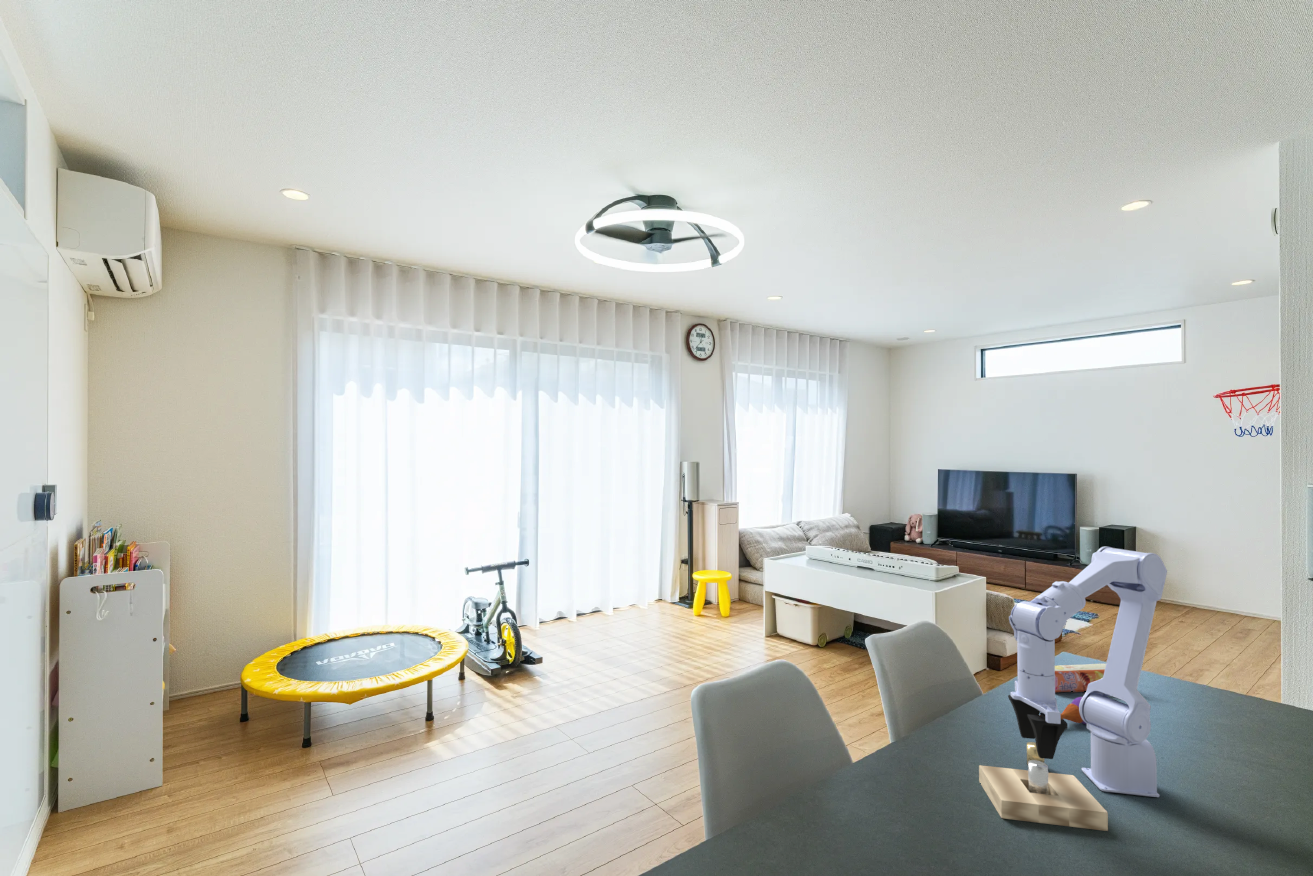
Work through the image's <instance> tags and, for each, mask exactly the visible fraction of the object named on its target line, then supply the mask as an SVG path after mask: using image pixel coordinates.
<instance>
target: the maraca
mask: <svg viewBox="0 0 1313 876" xmlns="http://www.w3.org/2000/svg"><path fill="white" fill-rule="evenodd" d="M1082 697H1083V696H1078V697H1075V698H1074V699H1072V701H1071V702H1070V703H1069V704H1067V705H1066V707H1065V708H1064V710H1063V711H1062V712H1061V719H1063V720H1067V721H1070V722H1073V723H1075V724H1082V725H1087V723H1086V722H1084V721H1083V720H1082V718H1081V716H1080V712H1079V704H1080V701H1081V699H1082ZM1039 716H1040V714H1039Z"/></svg>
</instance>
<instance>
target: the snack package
mask: <svg viewBox="0 0 1313 876" xmlns="http://www.w3.org/2000/svg"><path fill="white" fill-rule="evenodd" d="M1105 667H1106V663H1088V664H1085V663H1084V664H1065V665H1064V664H1062V665H1055V693H1085V692H1084V691H1087V687H1088V684H1089V683H1091V682H1094V681H1097V680H1100V679H1102V678H1103V676H1104V672H1105ZM1071 691H1073V692H1071Z"/></svg>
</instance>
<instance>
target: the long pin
mask: <svg viewBox="0 0 1313 876" xmlns="http://www.w3.org/2000/svg"><path fill="white" fill-rule="evenodd" d="M1027 768H1028V769H1027V770H1028V791H1029V792H1030V793H1037V794H1046V795H1048V773H1049V765H1048V764H1046V763H1045V762H1044V763H1043V762H1041V761H1037V760H1030V761H1028V765H1027Z"/></svg>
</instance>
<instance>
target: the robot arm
mask: <svg viewBox="0 0 1313 876" xmlns="http://www.w3.org/2000/svg"><path fill="white" fill-rule="evenodd" d="M1091 555H1092V556H1091V559H1090V560H1091V561H1090V563H1089V564H1088V565H1087V566H1086V567H1085V568H1084V569H1082V570H1081V571H1080V572H1079V573H1078V574H1077V575H1076V576H1074V577H1073V578H1072V579H1071V580H1070V581H1069V582H1067V581H1063V580H1062V581H1057V580H1056V581H1054V582H1053V583H1052V584H1051V586H1050V587H1049V588H1047V589H1046V590H1044V591H1043V592H1041V593H1040V594H1038V595H1037V596H1036V597H1034V598H1033V599H1032V600H1030V601H1027V600H1026V601H1025V600H1023V601H1020V602H1019V603H1016V604H1015V605H1013V608H1012V609H1011V611H1010V615H1009V616H1008V620H1009V624H1010V627H1011V628H1012V630H1013V634H1014V635H1013V638H1014V639H1015V641H1016V642H1017V644H1016V645H1017V646H1016V647H1017V654H1016V655H1017V661H1016V662H1017V680H1014V691H1010V694H1008V696H1007V697H1008V700H1009V702H1010V704H1011V705H1012V708H1013V711H1014V713H1015V716H1016V717H1015V718H1016V720H1017V725H1018V730H1019V733H1020V736H1021V738H1022V739H1030V740H1031V739H1033V740H1034V739H1035V743H1036V748H1037V753H1038V756H1039V757H1040V758H1044V760H1045V759H1048V760H1053V759H1054V757H1055V754H1056V750H1057V747H1058V743H1059V740H1060V739H1061V737H1062V735H1063V733H1064V732H1065V731H1066V730H1067V729H1068V722H1066V719H1061V714H1062V712H1060V711H1059V709H1058V708H1059V707H1058V702H1057V698H1056V692H1055V666H1056V661H1055V657H1056V655H1055V652H1056V651H1055V650H1056V649H1055V645H1056V644H1055V639H1058V638H1059V637H1060V636H1061V634H1062V632H1063V629H1064V627H1065V626H1066V625H1067V622H1068V620H1070V619H1071V618H1072V617H1073V616H1075V615H1076V614H1077V613H1078V612H1080V611H1081V610H1083V609H1084V608H1085V606H1086V602H1087V601H1086V598H1087V597H1089V596H1090V595H1091V596H1092V594H1094V593H1096V592H1098V591H1099V590H1101V589H1102V588H1104V587H1106V586H1108V587H1109V589H1110V590H1111V591H1113V592H1115V593H1116V594H1117V596H1118V597H1119V599H1120V603H1119V608H1118V613H1117V616H1116V621H1115V625H1114V629H1113V634H1112V638H1111V642H1110V646H1109V650H1108V655H1107V659H1106V663H1105V664H1106V667H1105V672H1104V676H1103V678H1102V679H1100V680H1097V681H1094V682H1091V683H1089V684H1088V687H1087V691H1086V692H1084V694H1083V696H1081V697H1082V699H1081V701H1080V704H1079V712H1080V716H1081V718H1082V720H1083V721H1084V722H1086V723H1087V724H1086V729H1087V730H1089V732H1090V768H1089V767H1081V771H1082V772H1083V773H1084V774H1085V776H1086V777H1087V778H1089V780H1091V782H1092V783H1094V785H1095V786H1096V787H1097V788H1098V790H1100V791H1101V792H1107V793H1116V794H1126V795H1135V796H1143V797H1151V798H1152V797H1153V798H1160V794H1159V792H1158V778H1157V777H1158V775H1157V773H1158V771H1157V769H1158V768H1157V765H1158V764H1157V762H1158V761H1157V756H1156V752H1155V750H1154V749H1155V748H1154V747H1153V745H1152V744H1151V742H1150V741H1149V740H1148V739H1147V738H1148V737H1149V735H1150V733H1151V730H1152V727H1151V725H1152V723H1151V722H1152V721H1151V709H1152V706H1151V704H1150V703H1149V702H1148V701H1147V699H1146V698H1145V697H1144V696H1143V695H1142V694H1141V693H1140V691H1139V690H1138V687H1139V681H1140V679H1141V678H1140V677H1141V674H1142V669H1143V664H1144V659H1145V654H1146V652H1147V651H1146V649H1147V646H1148V642H1149V639H1150V632H1151V628H1152V624H1153V619H1154V615H1155V610H1156V605H1157V602H1158V601H1160V600H1162V596H1163V593H1164V588H1165V583H1166V578H1167V575H1168V569H1167V568H1166V567H1167V566H1165V564H1164V562H1163V558H1161V557H1160V555H1158V554H1157V553H1154V552H1143V551H1135V550H1128V549H1123V548H1115V547H1111V546H1101V547H1100V548H1098V549H1097V551H1096V552H1093V553H1092V554H1091ZM1113 697H1114V698H1116V699H1119V700H1121V701H1123V702H1121V701H1119V700H1116V699H1113ZM1124 702H1125V703H1124ZM1039 715H1040V716H1039Z"/></svg>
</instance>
